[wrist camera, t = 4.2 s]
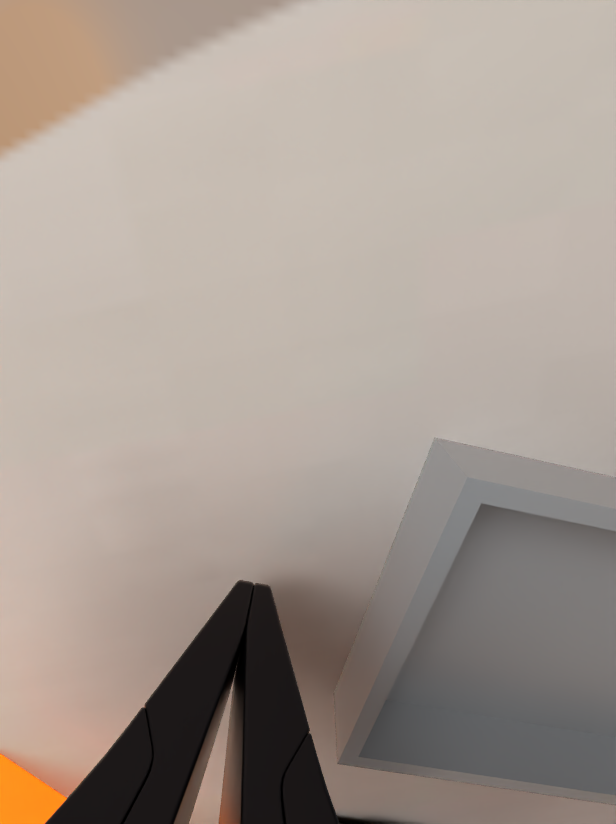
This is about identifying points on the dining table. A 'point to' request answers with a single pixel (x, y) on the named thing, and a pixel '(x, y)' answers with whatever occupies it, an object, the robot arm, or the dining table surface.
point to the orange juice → (25, 796)
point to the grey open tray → (491, 632)
